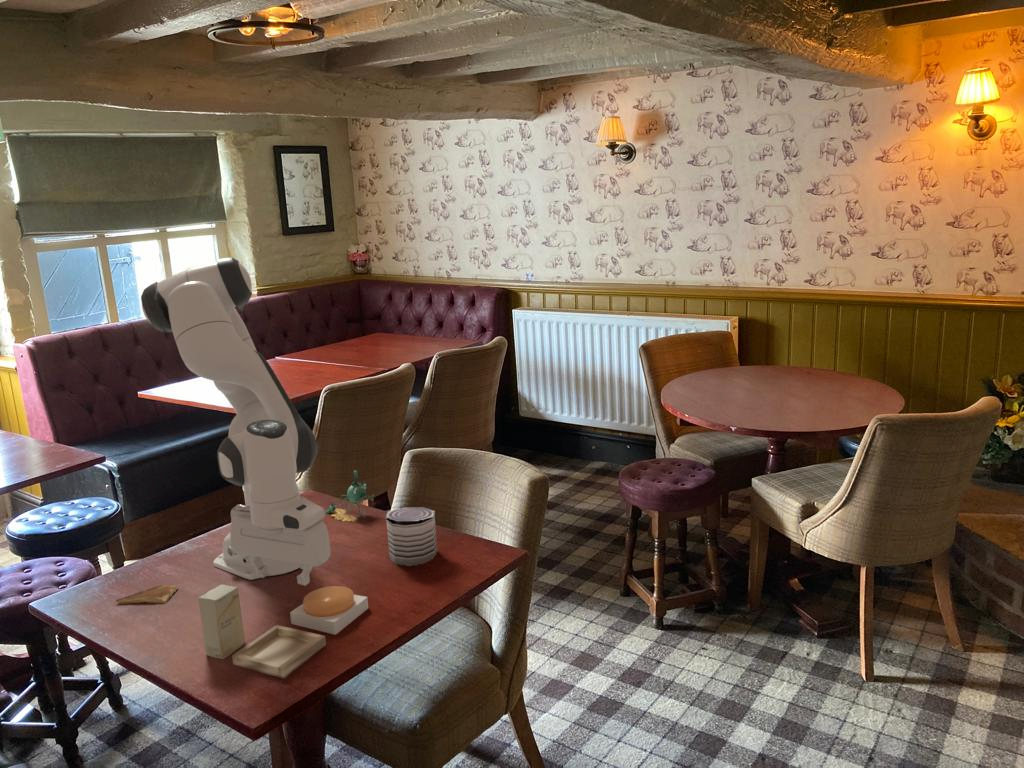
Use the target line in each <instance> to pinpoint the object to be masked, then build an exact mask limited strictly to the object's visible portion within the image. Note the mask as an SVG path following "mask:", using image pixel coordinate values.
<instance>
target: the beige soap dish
mask: <svg viewBox="0 0 1024 768" xmlns="http://www.w3.org/2000/svg"><path fill="white" fill-rule="evenodd" d="M326 640H327V639H326V635H323V634H318V633H314V632H309V631H306V630H305V631H304V630H301V629H296V628H292V627H287V626H284V625H278V624H276V625H274V626H273V627H272V628H269V629H268V630H267V631H266V632H264V633H263V634H261V635H259V636H258V637H256V638H255V639H254V640H252V641H250V643H248V644H246V645H245V646H243V648H241V649H239V650H238V651H236V652H235V653H233V654H231V657H232V658H231V659H232V664H233V665H234V666H238V667H241V668H245V669H249V670H252V671H256V672H258V673H263V674H265V675H269V676H273V677H276V678H279V679H282V680H283V679H285V678H287V677H288V676H289V675H291V674H292V673H293V672H294V671H296V670H297V669H298V668H299V667H300V666H302V665H303V664H304V663H305V662H306V661H307V662H308V660H309V659H310V658H311V657H313V656H314V655H315V654H316V653H318V652H319V651H320V650H322V649H323V648H324V647H325V646H326V645H327V641H326Z"/></svg>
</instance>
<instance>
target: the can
mask: <svg viewBox="0 0 1024 768" xmlns="http://www.w3.org/2000/svg"><path fill="white" fill-rule="evenodd" d="M435 513H436V511H435V510H432V509H431V508H427V507H424V506H423V507H421V506H420V507H418V506H417V507H416V506H415V507H413V506H412V507H401V508H397V509H393V510H389V511H387V513H386V515H385V516H384V518H386V529H387V542H388V554H389V559H390V560H391V562H393V563H394V565H398V564H399V566H404V565H405V566H404V567H413V566H412V565H414V566H419V565H418V564H421V563H425V562H427V561H428V560H431V559H432V558H434V557H435V554H436V552H437V553H438V544H437V543H438V542H437V529H436V528H437V527H436V516H435V515H436V514H435ZM436 555H437V554H436ZM435 558H436V557H435ZM431 561H432V560H431ZM427 563H428V562H427ZM425 564H426V563H425Z"/></svg>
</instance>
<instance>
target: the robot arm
mask: <svg viewBox="0 0 1024 768" xmlns="http://www.w3.org/2000/svg"><path fill="white" fill-rule="evenodd" d="M252 283H253V282H252V277H251V276H250V273H249V272H248V270H247V269H246V268H245V266H244V265H242V264H241V263H240V261H239V260H238V259H236V258H234V257H229V256H228V257H222V258H217V259H216V260H215V261H210V262H205V263H201V264H199V265H195V266H192V267H188V268H186V269H185V270H183V271H181V272H178V273H175V274H174V275H171V276H169V277H167V278H165V279H163V280H161V281H159V282H157V281H155V282H153V283H151V284H150V285H148V286H147V287H146V288H144V289H143V292H142V294H141V296H140V300H141V307H142V313H143V315H144V317H145V318H146V321H148V323H150V325H151V326H152V327H153V328H154V329H155V330H157V331H160V332H163V333H172V334H173V338H174V342H175V344H176V347H177V350H178V353H179V355H180V357H181V360H182V361H183V363H184V366H186V367H187V370H189V371H190V372H191V373H193V374H195V375H197V376H198V377H201V378H203V379H207V380H209V381H213V384H214V386H215V388H216V389H217V390H218V391H219V392H221V394H223V395H224V397H225V398H226V400H227V401H228V403H229V404H230V405H231V406H232V408H233V410H234V412H235V414H236V415H235V416H234V417H233V419H232V420H231V423H230V425H229V430H228V435H227V437H225V438H223V440H222V441H221V443H220V445H219V447H218V449H217V452H216V459H217V460H216V461H217V465H218V472H219V475H220V476H221V478H223V479H224V480H225V481H227V482H228V483H231V484H233V485H235V486H238V487H242V488H243V495H244V505H243V504H236V506H234V507H233V508H231V511H230V519H231V521H230V532H229V533H228V534H227V535H226V536H225V537H224V539H223V542H222V553H221V554H219V555H217V556H216V557H215V559H214V560H213V562H212V563H213V566H214V567H216V568H218V569H220V570H223V571H225V572H227V573H231V574H234V575H236V576H238V577H240V578H244V579H246V580H250V581H251V580H257V579H260V578H261V579H264V578H266V577H271V576H279V575H284V574H288V573H290V572H291V573H292V572H293V571H295V570H298V569H301V570H302V572H301V573H300V574H297V575H296V580H297V582H296V583H297V584H298V585H299V586H300V585H301V586H307V585H308V584H309V583H310V582H311V580H310V578H311V577H310V573H311V572H312V569H313V568H314V567H315V568H317V567H320V566H322V565H323V564H324V563H326V562H327V561H328V560H329V559H330V557H331V541H330V536H329V531H328V527H327V524H326V523H325V522H324V521H323V520H322V519H324V518H325V514H326V513H325V509H324V507H322V505H321V506H320V505H318V504H316V503H314V502H312V501H310V500H309V499H307V498H306V497H304V496H302V495H300V489H299V487H298V484H297V479H296V476H297V474H299V473H305V472H307V470H308V469H309V468H310V467H312V465H313V463H314V462H315V459H316V458H317V455H318V452H319V449H318V448H319V447H318V446H319V445H318V441H317V438H316V436H315V434H314V432H313V430H312V429H311V428H310V427H309V425H308V424H307V423H306V422H305V420H304V419H303V418H302V417H301V415H300V414H299V412H298V411H297V409H296V407H295V405H294V404H293V402H292V400H291V398H290V397H289V395H288V394H287V391H286V390H285V388H284V387H283V385H282V383H281V382H280V380H279V378H278V377H277V374H276V373H275V372H274V370H273V368H272V367H271V364H270V363H269V362H268V361H267V359H266V358H265V356H263V354H262V353H261V352H259V351H257V348H256V346H255V343H254V341H253V339H252V337H251V335H250V333H249V331H248V328H247V326H246V324H245V322H244V321H243V319H242V317H241V315H240V314H239V312H238V311H237V309H236V308H238V309H239V311H241V312H243V310H244V306H245V305H247V304H248V303H249V301H250V299H251V297H252V296H253V291H252V289H253V285H252Z"/></svg>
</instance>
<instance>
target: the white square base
mask: <svg viewBox="0 0 1024 768" xmlns="http://www.w3.org/2000/svg"><path fill="white" fill-rule="evenodd" d="M368 599H369V598H368V596H365V595H364V596H363V595H358V594H354V604H353V606H352V607H351V608H349V609H348V610H346V611H345V612H342V613H340V614H337V615H333V616H326V617H318V616H312V615H309V614H307V613H306V612H305V610H304V604H303V603H302V604H301V605H298V606H297V607H296V608H294V609H293V610H292V611H290V612H289V614H290V616H289V617H290V622H291V623H290V624H291V625H295V626H299V627H303V628H306V629H311V630H316V631H318V632H323V633H327V634H331V635H334V636H336V635H337V634H339V633H340V632H341V631H342V630H343V629H344V628H346V627H347V626H348V625H350V624H351V623H352V622H353V621H354V620H356V619H357V618H358V617H359V616H361V615H362V614H363V613H364V612H366V611H367V610H368V609H369V600H368Z"/></svg>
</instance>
